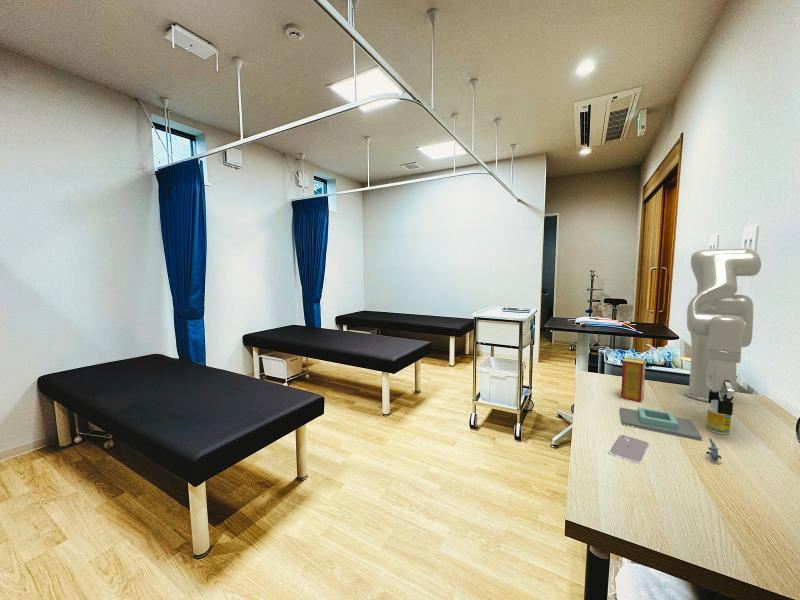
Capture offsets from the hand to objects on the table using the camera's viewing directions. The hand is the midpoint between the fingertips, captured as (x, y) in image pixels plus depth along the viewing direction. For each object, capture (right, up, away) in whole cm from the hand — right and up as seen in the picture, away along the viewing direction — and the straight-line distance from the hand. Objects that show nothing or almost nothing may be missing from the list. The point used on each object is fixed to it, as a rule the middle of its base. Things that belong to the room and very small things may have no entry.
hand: (719, 408), depth 103 cm
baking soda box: (-6, -6, +30) cm, 31 cm away
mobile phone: (-36, -9, -9) cm, 38 cm away
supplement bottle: (0, -8, +1) cm, 8 cm away
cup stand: (-15, -7, +6) cm, 18 cm away
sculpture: (-17, -10, -15) cm, 25 cm away
